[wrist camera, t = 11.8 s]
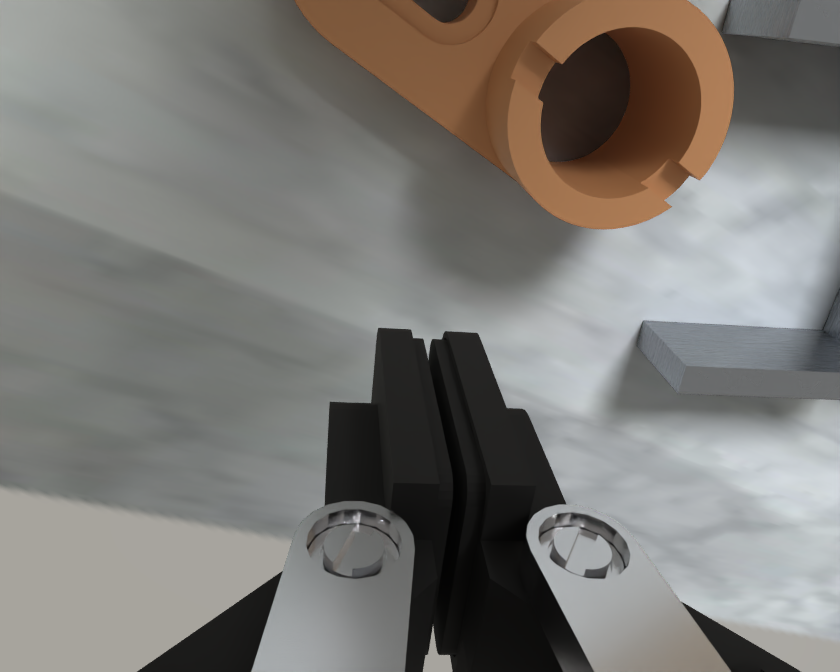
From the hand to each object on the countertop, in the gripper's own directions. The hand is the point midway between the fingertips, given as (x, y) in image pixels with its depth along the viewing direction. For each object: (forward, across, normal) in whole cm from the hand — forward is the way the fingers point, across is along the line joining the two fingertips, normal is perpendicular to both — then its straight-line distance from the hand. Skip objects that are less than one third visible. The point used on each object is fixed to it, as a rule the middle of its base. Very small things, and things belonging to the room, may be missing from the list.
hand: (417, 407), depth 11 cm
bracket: (+22, -4, -6) cm, 23 cm away
